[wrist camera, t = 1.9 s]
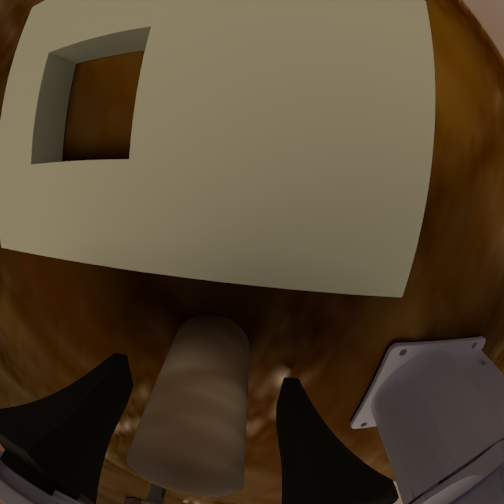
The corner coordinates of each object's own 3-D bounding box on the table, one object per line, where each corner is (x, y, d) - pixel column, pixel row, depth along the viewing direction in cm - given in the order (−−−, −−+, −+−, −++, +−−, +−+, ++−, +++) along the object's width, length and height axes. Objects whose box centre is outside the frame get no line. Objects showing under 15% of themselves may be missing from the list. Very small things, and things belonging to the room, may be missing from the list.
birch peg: (253, 318, 13) (249, 462, 6) (246, 375, 15) (239, 500, 7) (175, 309, 13) (113, 436, 6) (177, 366, 15) (139, 483, 7)
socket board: (403, 19, 8) (425, 1, 6) (380, 274, 13) (401, 297, 10) (55, 18, 8) (32, 6, 6) (28, 235, 12) (1, 247, 10)
